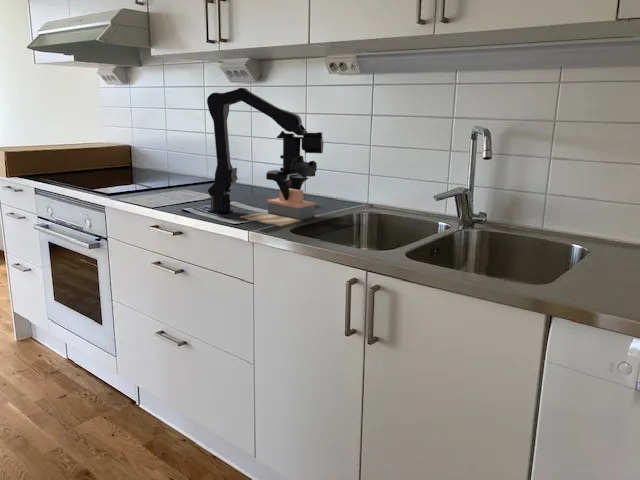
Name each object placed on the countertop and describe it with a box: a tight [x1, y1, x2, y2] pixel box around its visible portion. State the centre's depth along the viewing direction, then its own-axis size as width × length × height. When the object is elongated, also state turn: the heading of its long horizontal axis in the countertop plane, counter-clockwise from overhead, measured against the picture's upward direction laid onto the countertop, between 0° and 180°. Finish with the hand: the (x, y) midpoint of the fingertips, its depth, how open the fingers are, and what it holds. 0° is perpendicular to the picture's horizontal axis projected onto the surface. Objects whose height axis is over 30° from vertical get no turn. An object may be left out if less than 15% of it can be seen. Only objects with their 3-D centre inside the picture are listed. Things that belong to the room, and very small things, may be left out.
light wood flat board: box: [239, 212, 303, 227], centre depth 180 cm, size 18×10×1 cm, turn 51°
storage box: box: [267, 202, 316, 220], centre depth 187 cm, size 14×8×4 cm, turn 51°
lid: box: [266, 188, 317, 208], centre depth 186 cm, size 14×8×6 cm, turn 51°
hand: (291, 199), depth 186 cm, fingers open, 4 cm apart
